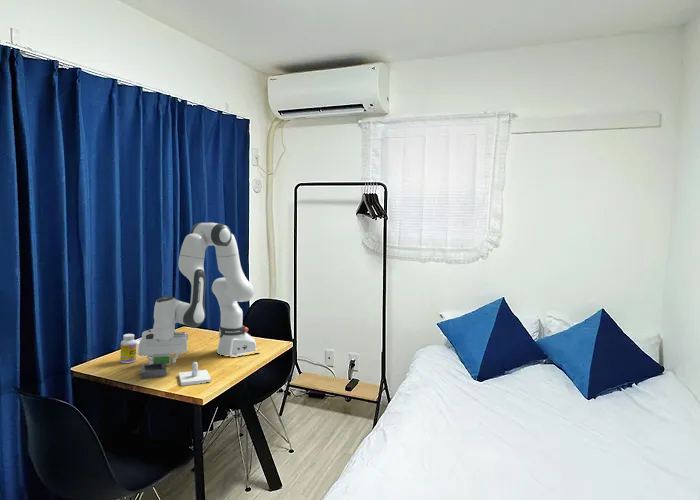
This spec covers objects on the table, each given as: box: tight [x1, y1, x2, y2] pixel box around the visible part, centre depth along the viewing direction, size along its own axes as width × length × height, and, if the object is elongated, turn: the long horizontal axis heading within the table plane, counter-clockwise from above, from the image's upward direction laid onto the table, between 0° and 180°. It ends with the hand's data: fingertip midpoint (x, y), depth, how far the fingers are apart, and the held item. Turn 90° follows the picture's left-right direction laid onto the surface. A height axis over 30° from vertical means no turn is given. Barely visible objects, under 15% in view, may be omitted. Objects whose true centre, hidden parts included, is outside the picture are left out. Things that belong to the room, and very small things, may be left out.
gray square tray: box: [140, 362, 167, 380], centre depth 195 cm, size 10×10×3 cm
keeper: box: [178, 361, 212, 387], centre depth 192 cm, size 12×12×8 cm
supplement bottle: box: [119, 333, 137, 364], centre depth 208 cm, size 7×7×13 cm
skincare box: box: [150, 354, 172, 366], centre depth 208 cm, size 8×7×16 cm
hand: (162, 363), depth 197 cm, fingers open, 8 cm apart
